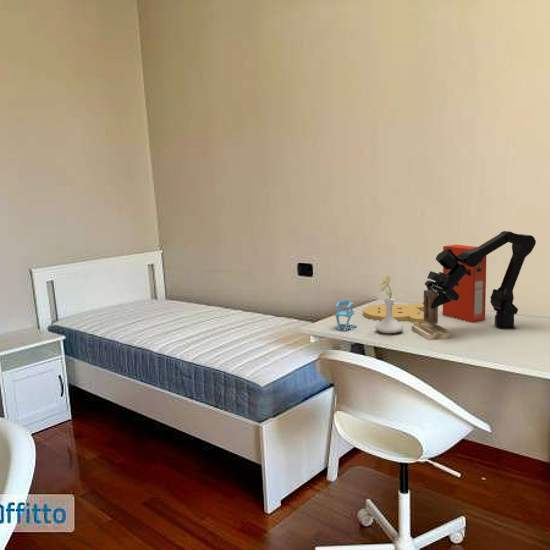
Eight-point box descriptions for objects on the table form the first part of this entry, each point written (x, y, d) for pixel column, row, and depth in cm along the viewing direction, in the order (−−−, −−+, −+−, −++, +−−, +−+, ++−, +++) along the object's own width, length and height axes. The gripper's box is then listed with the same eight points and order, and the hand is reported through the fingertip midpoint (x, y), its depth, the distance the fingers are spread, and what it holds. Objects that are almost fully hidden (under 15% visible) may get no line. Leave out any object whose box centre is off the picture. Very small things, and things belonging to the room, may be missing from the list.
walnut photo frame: (430, 319, 215) (430, 289, 213) (437, 323, 209) (438, 292, 207) (423, 320, 214) (423, 290, 212) (430, 324, 209) (431, 293, 207)
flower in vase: (376, 327, 225) (376, 269, 221) (403, 328, 222) (404, 270, 218) (373, 336, 213) (373, 275, 209) (402, 337, 210) (402, 275, 206)
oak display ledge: (431, 328, 221) (431, 320, 220) (450, 337, 206) (450, 329, 206) (411, 330, 219) (411, 322, 219) (428, 340, 205) (428, 331, 204)
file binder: (471, 323, 227) (473, 249, 221) (442, 315, 242) (443, 245, 237) (485, 320, 230) (487, 247, 225) (455, 312, 245) (456, 244, 240)
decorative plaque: (361, 324, 234) (431, 324, 228) (361, 318, 233) (431, 319, 227) (364, 307, 264) (426, 308, 258) (364, 302, 263) (426, 303, 257)
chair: (332, 330, 224) (332, 303, 221) (339, 325, 231) (339, 298, 229) (350, 332, 220) (349, 304, 218) (356, 327, 227) (356, 300, 225)
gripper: (429, 261, 218) (404, 289, 218) (452, 267, 200) (425, 298, 199) (446, 278, 221) (421, 306, 220) (471, 286, 202) (444, 316, 202)
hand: (427, 306), depth 211 cm, fingers closed on walnut photo frame, 6 cm apart
